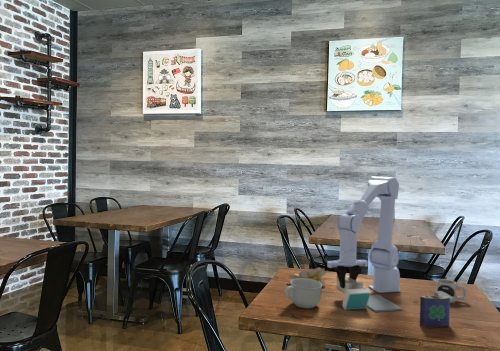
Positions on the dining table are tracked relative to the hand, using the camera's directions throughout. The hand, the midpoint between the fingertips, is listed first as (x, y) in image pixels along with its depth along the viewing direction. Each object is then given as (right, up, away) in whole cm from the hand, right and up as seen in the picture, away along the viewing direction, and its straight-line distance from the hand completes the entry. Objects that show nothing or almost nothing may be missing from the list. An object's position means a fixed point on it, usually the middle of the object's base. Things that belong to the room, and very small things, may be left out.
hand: (346, 287), depth 149 cm
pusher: (0, -2, 0) cm, 2 cm away
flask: (+22, -7, -20) cm, 30 cm away
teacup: (-16, -6, -4) cm, 18 cm away
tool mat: (+10, -6, 0) cm, 12 cm away
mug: (+39, -6, +5) cm, 40 cm away
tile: (+1, -5, -5) cm, 8 cm away
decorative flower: (-10, -5, +21) cm, 23 cm away
